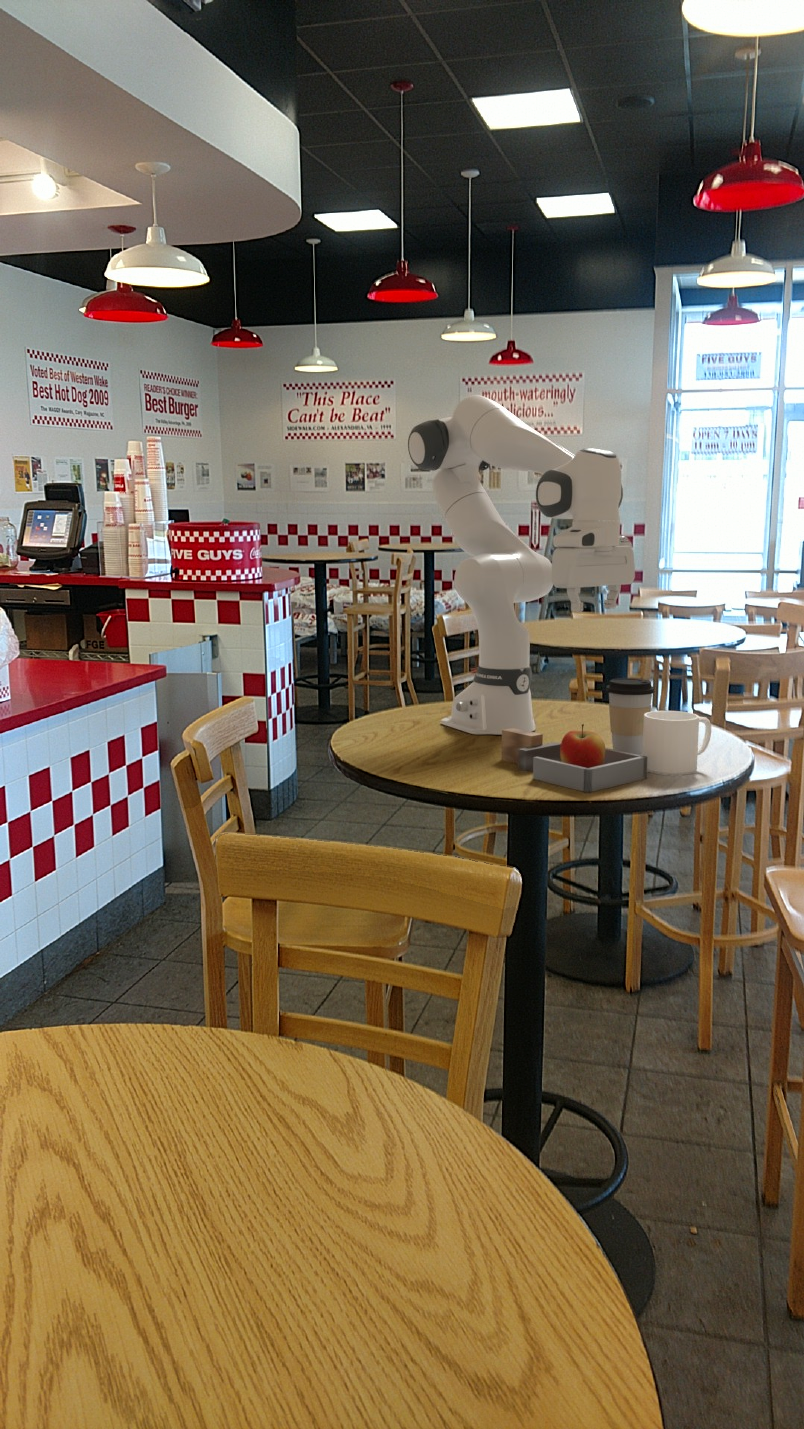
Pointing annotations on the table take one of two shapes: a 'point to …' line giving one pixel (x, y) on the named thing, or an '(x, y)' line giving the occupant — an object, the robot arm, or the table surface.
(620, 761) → the tray
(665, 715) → the mug
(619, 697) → the coffee cup
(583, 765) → the apple
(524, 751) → the tan grey t-shaped block
